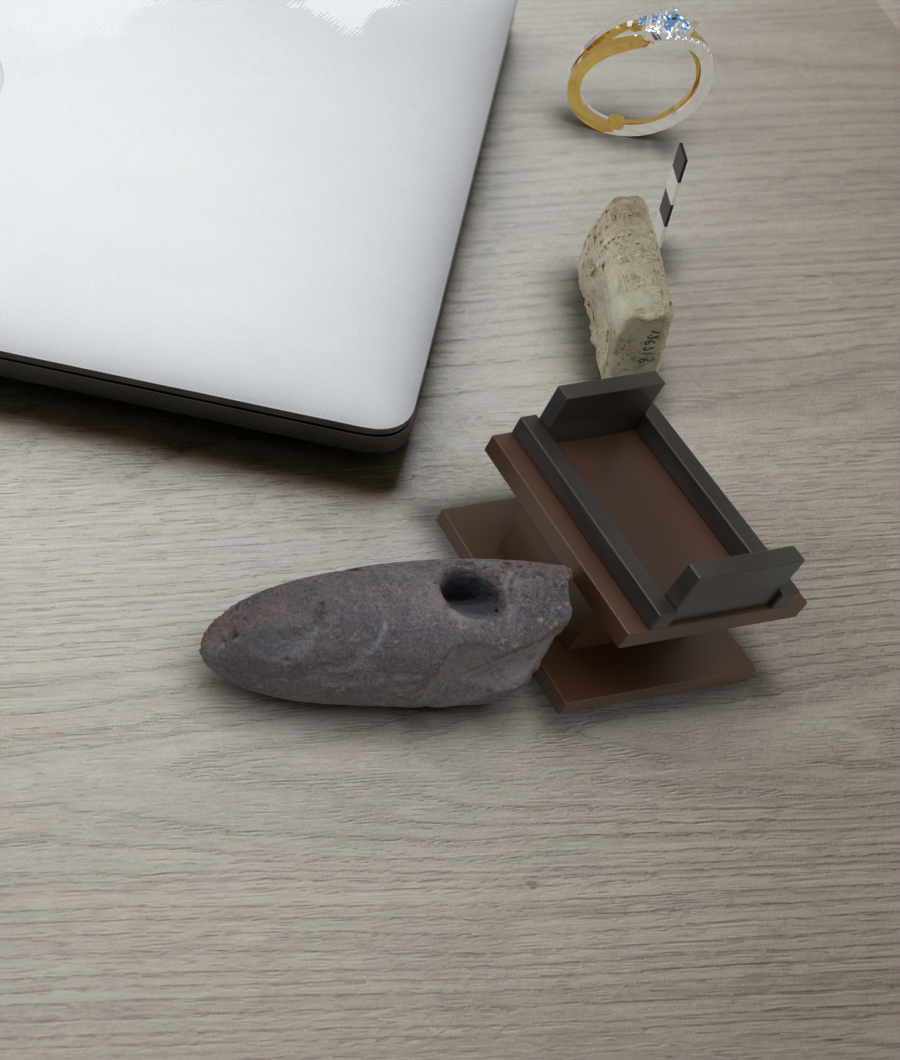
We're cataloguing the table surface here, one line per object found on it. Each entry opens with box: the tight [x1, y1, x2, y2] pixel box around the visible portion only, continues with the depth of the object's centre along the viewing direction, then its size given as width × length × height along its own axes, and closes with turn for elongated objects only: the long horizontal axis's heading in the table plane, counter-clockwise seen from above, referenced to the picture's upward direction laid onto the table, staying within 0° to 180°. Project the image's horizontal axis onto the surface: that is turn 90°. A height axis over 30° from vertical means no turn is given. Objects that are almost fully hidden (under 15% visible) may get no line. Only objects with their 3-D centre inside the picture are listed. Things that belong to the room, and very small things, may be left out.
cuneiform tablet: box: [577, 142, 689, 379], centre depth 85 cm, size 7×4×12 cm
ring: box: [566, 5, 714, 137], centre depth 94 cm, size 7×3×8 cm, turn 67°
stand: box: [435, 371, 808, 715], centre depth 73 cm, size 9×11×9 cm
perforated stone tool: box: [198, 558, 573, 709], centre depth 71 cm, size 15×5×7 cm, turn 89°
